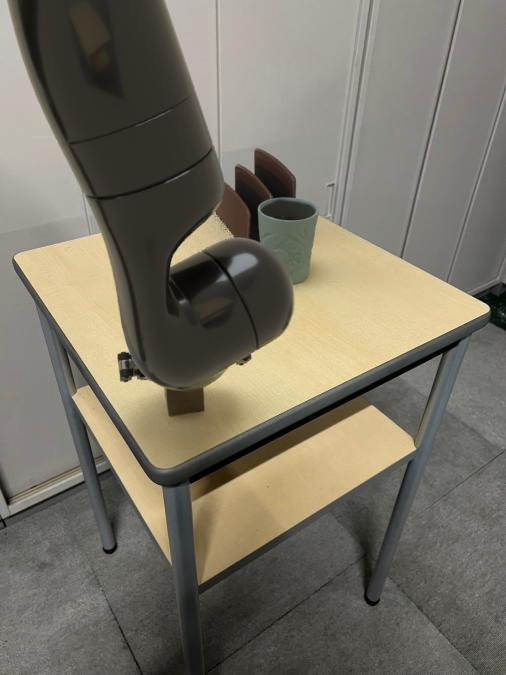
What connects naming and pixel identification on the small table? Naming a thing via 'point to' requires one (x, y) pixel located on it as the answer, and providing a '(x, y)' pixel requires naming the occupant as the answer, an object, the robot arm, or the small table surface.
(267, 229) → the green cup
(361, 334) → the small table surface
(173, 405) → the walnut block
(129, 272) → the robot arm
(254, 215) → the letter holder
